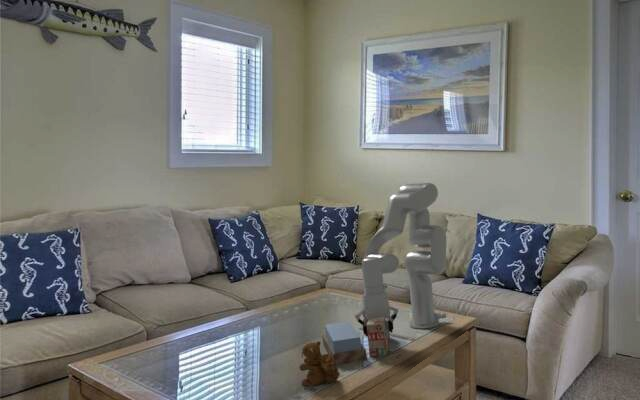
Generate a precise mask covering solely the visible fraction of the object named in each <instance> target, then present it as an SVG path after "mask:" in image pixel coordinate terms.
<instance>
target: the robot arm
mask: <svg viewBox="0 0 640 400" xmlns="http://www.w3.org/2000/svg"><path fill="white" fill-rule="evenodd" d="M438 196H439V192H438V187H437V186H436V184H434V183H431V182H422V183H421V182H420V183H408V184H404V185H401V186H400V187H399V189H398V193H394V194H392V195H390V197H389V199H388V202H387V206H386V210H385V213H384V217H383V222H382V225H381V227H380V229H378V230H377V232H375V234H373V236H372V237H371V239H369V241H368V242H367V245H366V248H365V252H364V256H363V259H362V260H361V269H362V270H361V271H362V279H363V280H362V281H363V287H364V288H363V289H364V290H363V291H364V293H362V299H361V301H362V302H361V305H362V310H360V311H358V312H357V313H356V314H354V317H355V319H356V321H357V322H358V323H359V324H360V325H361V326H362V331H363V335H364V336H366V337H368V336H367V326H366V324H367V322H368V320H369V319H373V318H380V317H385V318H388V330H389V333H391V334H392V333H393V330H394V322H395V320H396V319H397V317H398V314H399V308H398V307H397V308H396V307H394V306H391V305H390V301H389V298H388V294H387V292H386V289H388V287H389V286H388V285H387V284H384V276H383V275H388V274H391V273H392V274H393V273H395V272H396V271H397V270H398V268H399V266H400V261H399V258H398V256H397V255H395V254H393V253H383V252H382V253H379V252H380V250H381V249H382V247H383V246H384V245H385V244H386V243H388V242H389V241H391V240H393V239H396V238H397V237H399V236H401V235H402V234H403V232H404V228H405V224H406V220H407V219H406V218H407V216H408V215H409V216H408V217H409V220H408V221H409V223H408V227H409V228H408V242H409V244H410V246H411V247H414V248H421V249H422V248H423V249H430V250H429V251H427V250H413V251H412V250H411V251H409V252H408V253H407V254H405V257H404V260H403V261H404V266H405V271H406V275H407V278H408V287H409V295H410V304H411V305H410V306H411V316H412V320H410V321H409V327H410V328H412V329H422V330H423V329H432V328H435V327H438V326H439V325H440V319H446V318H447V313H445V312H443V313H440V312H438V313H437V312H435V311H436V310H435V305H434V303H435V302H434V292H433V284H432V283H433V282H432V279H431V278H430V276H429V275H441V274H443V273H444V272H445V269H446V264H447V234H446V231H445V229H444V228H443V226H441V225H439V224H438V225H436V224H431V223H430V221H431V220H430V216H431V215H430V211H429V209H428V207H430V206H431V205H432V204H434V203H435V202H436V200H437V198H438ZM391 311H392V315H391ZM361 316H363V319H361Z"/></svg>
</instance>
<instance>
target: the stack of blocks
mask: <svg viewBox="0 0 640 400" xmlns="http://www.w3.org/2000/svg"><path fill="white" fill-rule="evenodd" d="M388 321H389V319H388V318H385V317H380V318H373V319H369V320H368V322H367V324H366V326H367V336H366V337H367V341H368V353H369V357H383V356H387V355H388V354H387V353H388V350H389V343H390V339H391V337H390V333H391V332H390V331H389V330H388Z"/></svg>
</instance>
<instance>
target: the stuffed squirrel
mask: <svg viewBox="0 0 640 400" xmlns="http://www.w3.org/2000/svg"><path fill="white" fill-rule="evenodd" d="M320 346H321V341H317V342H315V341H313V342H309V343H307V344H306V345H304V346H303V348H302V352H301V358H302V359H303V358H304V357H305V358H304V360H303V363H301V364H300V365H299V370H300V371H307V374H306V378H304V379H303V380H301V385H302V386H309V387H310V386H311V387H312V386H313V387H314V386H318V385H320V384H323V383H325V384H327V383H328V384H331V383H330V382H332V383H334V382H336V381H337V379H339V377H340V374H341V373H340V372H339V368H338V366H337V365H336V363H335V361H334V360H333V358H332V357H331V354H328V353H323V354H322V353H321V348H320ZM333 381H334V382H333Z"/></svg>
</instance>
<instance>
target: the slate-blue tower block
mask: <svg viewBox="0 0 640 400" xmlns="http://www.w3.org/2000/svg"><path fill="white" fill-rule="evenodd" d="M324 331H325V335H326V337H327V339H328V341H329V343H330V345H331V347H332V349H333V352H334V353H341V352H347V351H354V350H361V344H362V343H361V341H362V340H361V336H360V335H359V333H358V332H357V331H356V329H355V327H354V326H353V325H352V323H351V321H341V322H336V323H334V322H333V323H328V324H324Z"/></svg>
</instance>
